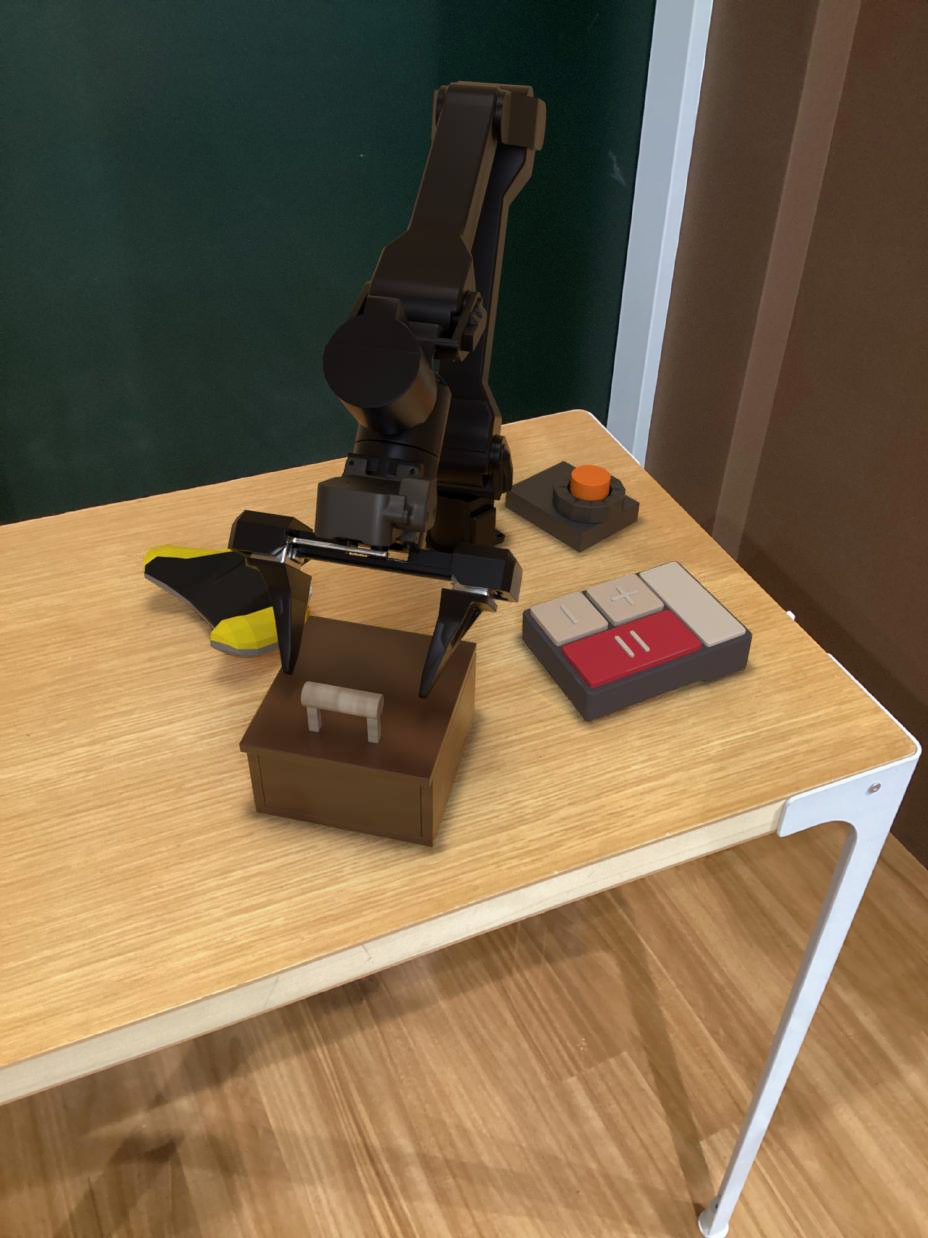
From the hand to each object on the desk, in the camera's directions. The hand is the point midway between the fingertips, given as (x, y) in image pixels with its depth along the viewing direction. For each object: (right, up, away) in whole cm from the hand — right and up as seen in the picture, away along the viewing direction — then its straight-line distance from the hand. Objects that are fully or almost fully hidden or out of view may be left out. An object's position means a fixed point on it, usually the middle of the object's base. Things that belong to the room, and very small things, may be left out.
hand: (354, 686), depth 69 cm
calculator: (+21, +1, +18) cm, 27 cm away
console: (+17, +14, +33) cm, 40 cm away
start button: (+19, +16, +30) cm, 39 cm away
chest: (0, -6, +8) cm, 10 cm away
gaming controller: (-12, +4, +20) cm, 24 cm away
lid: (0, -1, +3) cm, 3 cm away
